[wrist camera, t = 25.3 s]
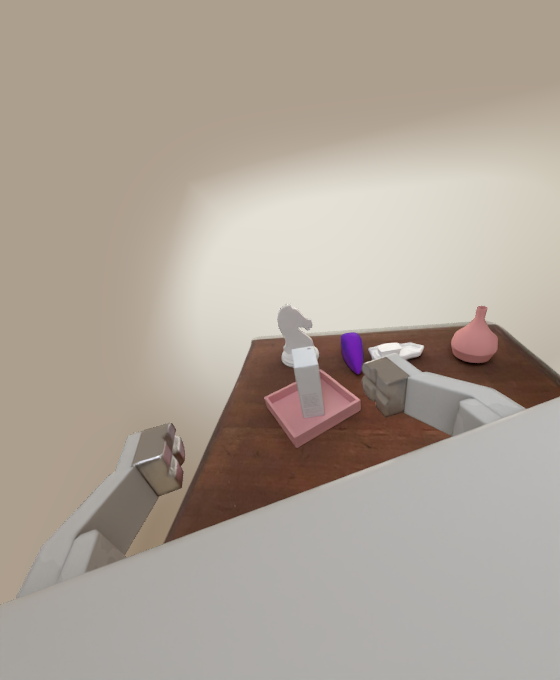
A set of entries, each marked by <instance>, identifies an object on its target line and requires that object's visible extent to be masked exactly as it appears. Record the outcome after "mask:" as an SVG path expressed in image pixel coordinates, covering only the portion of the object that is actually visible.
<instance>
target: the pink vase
mask: <svg viewBox="0 0 560 680" xmlns="http://www.w3.org/2000/svg"><path fill="white" fill-rule="evenodd" d="M486 311H487V307H485V306H478V307H477V311H476V315H475V318H474V319H473V320H472V321H471V322H470V323H469V324H468V325H467V326H465V327H463V328H462V329H460V330H458V331H457V332H456V333H455V334H454V337H453V339H452V341H451V346H452V351H453V354H454V355H455V356H456V357H457V358H458V359H461V360H463V361H466V362H471V363H483V362H486V361H489V360H490V358H491V357H492V356H493V355H494V353H495V352H496V351H497V343H498V340H497V336H496V335H495V334H494V333H493V332H492V331H491V330H490V329H489V328H488V326H487V323H486V321H485V315H486Z"/></svg>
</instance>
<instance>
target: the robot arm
mask: <svg viewBox="0 0 560 680" xmlns="http://www.w3.org/2000/svg"><path fill="white" fill-rule="evenodd" d="M362 372H363V373H364V374H365V375H364V377H363V378H362V387H363V390H364V392H365V394H366V396H367V397H368V398H369V399H370V400H372V401H374V402H376V407H377V409H378V410H379V411H380V412H381V413H382V414H383V416H384V417H385V418H386V417H389V416H392V415H396V414H399V413H402V412H404V413H406V414H408V415H410V416H412V417H414V418H416V419H418V420H420V421H422V422H424V423H426V424H428V425H430V426H432V427H434V428H436V429H438V430H440V431H443V432H445V433H447V434H449V435H451V437H450V438H447V439H445V440H442V441H439V442H437V443H434V444H431V445H429V446H426V447H423V448H420V449H418V450H415V451H412V452H410V453H407V454H404V455H402V456H399V457H396V458H394V459H391V460H388V461H386V462H383V463H380V464H378V465H375V466H372V467H369V468H367V469H364V470H361V471H359V472H356V473H353V474H351V475H348V476H345V477H343V478H340V479H337V480H335V481H332V482H329V483H327V484H324V485H321V486H318V487H316V488H313V489H310V490H308V491H305V492H302V493H300V494H297V495H294V496H291V497H289V498H286V499H283V500H281V501H278V502H275V503H273V504H270V505H267V506H264V507H262V508H259V509H256V510H254V511H251V512H248V513H246V514H243V515H240V516H237V517H235V518H232V519H229V520H227V521H224V522H221V523H219V524H216V525H213V526H211V527H208V528H205V529H202V530H200V531H197V532H194V533H192V534H189V535H186V536H184V537H181V538H178V539H176V540H173V541H170V542H168V543H165V544H162V545H159V546H157V547H154V548H151V549H149V550H146V551H143V552H141V553H138V554H136V555H133V556H130V557H126V556H125V554H126V552H127V551H128V549H129V547H130V545H131V544H132V542H133V540H134V539H135V537H136V535H137V534H138V532H139V530H140V528H141V527H142V525H143V523H144V522H145V520H146V518H147V517H148V515H149V513H150V512H151V510H152V508H153V506H154V505H155V503H156V501H157V499H158V497H159V496H161V495H164V494H167V493H169V492H172V491H175V490H177V489H180V488H182V481H183V470H182V468H181V465H182V464H183V462H184V460H185V450H184V446H183V442H182V440H181V438H180V437H179V436H176V435H175V432H176V429H175V427H174V425H173V424H172V423H168V424H164V425H161V426H157V427H153V428H150V429H146V430H144V431H140V432H137V433H133V434H130V435H129V436H128V437H127V439H126V442H125V445H124V448H123V451H122V453H121V456H120V459H119V462H118V464H117V467H116V470H115V472H114V473H112V474H110V475H109V476H108V477H107V478H106V479H105V480H104V481H103V482H102V483H101V484H100V485H99V486H98V487H97V489H95V491H94V492H93V493H92V494H91V495H90V496H89V497H88V498H87V499H86V500H85V501H84V502H83V503H82V504H81V505H80V507H78V509H77V510H76V511H75V512H74V513H73V514H72V515H71V516H70V517H69V518H68V519H67V520H66V521H65V522H64V523H63V524H62V526H61V527H60V528H59V529H58V530H57V531H56V532H55V533H54V534H53V535H52V536H51V537H50V538H49V539H48V540H47V541H46V542H45V544H44V545H43V546H42V547H41V549H40V551H39V553H38V555H37V557H36V559H35V561H34V563H33V565H32V567H31V569H30V571H29V573H28V575H27V577H26V579H25V581H24V583H23V585H22V587H21V589H20V591H19V593H18V595H17V597H16V599H14V600H11V601H9V602H6V603H3V604H1V605H0V680H560V397H558V398H555V399H553V400H550V401H547V402H544V403H542V404H539V405H536V406H534V407H531V408H528V409H525V408H524V407H522V406H521V405H519V404H517V403H516V402H514V401H512V400H511V399H509V398H508V397H506V396H504V395H503V394H501V393H500V392H498V391H496V390H495V389H493V388H489V387H485V386H481V385H477V384H473V383H469V382H465V381H461V380H457V379H453V378H449V377H445V376H441V375H437V374H433V373H429V372H423V373H422V372H421V371H420V370H418V369H417V368H416V367H414V366H413V365H412V364H410V363H409V362H407V361H406V360H405V359H403V358H402V357H401V356H399V355H398V354H395V353H393V354H390V355H387V356H384V357H382V358H379V359H376V360H372V361H369V362H366V363H363V364H362Z"/></svg>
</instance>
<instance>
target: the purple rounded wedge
mask: <svg viewBox="0 0 560 680" xmlns="http://www.w3.org/2000/svg"><path fill="white" fill-rule="evenodd" d="M341 347H342V355H343V358H344V360H345V362H346V363H347V365H348V366H349V368H350V369H351V370H352V371H354V372H355V373H356V374H360V373H361V371H362V364H363V345H362V340H361V337H360V336H359V335H358V334H357V333H354V332H353V333H346V334H343V335H342V336H341Z"/></svg>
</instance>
